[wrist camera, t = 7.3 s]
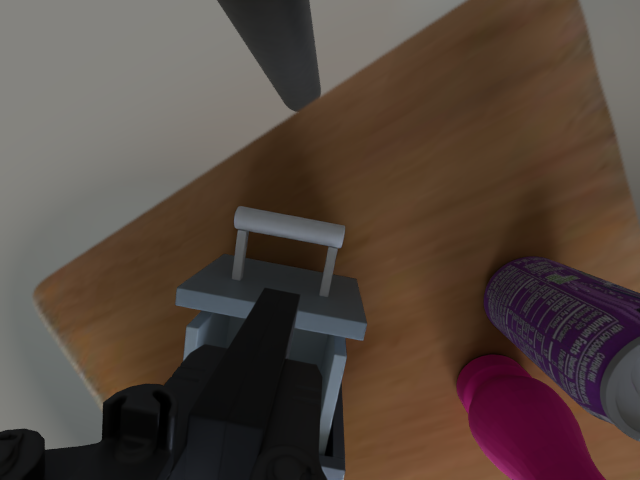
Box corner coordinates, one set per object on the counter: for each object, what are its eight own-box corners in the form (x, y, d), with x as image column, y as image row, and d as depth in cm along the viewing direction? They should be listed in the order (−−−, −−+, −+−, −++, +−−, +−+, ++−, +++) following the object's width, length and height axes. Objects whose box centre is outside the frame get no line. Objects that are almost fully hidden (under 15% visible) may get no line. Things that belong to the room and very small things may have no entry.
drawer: (230, 195, 24) (183, 203, 16) (369, 221, 24) (386, 241, 16) (207, 390, 28) (160, 470, 20) (327, 413, 28) (324, 502, 20)
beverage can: (575, 316, 26) (774, 431, 14) (492, 342, 27) (613, 470, 15) (554, 241, 25) (751, 297, 13) (469, 271, 25) (579, 348, 14)
